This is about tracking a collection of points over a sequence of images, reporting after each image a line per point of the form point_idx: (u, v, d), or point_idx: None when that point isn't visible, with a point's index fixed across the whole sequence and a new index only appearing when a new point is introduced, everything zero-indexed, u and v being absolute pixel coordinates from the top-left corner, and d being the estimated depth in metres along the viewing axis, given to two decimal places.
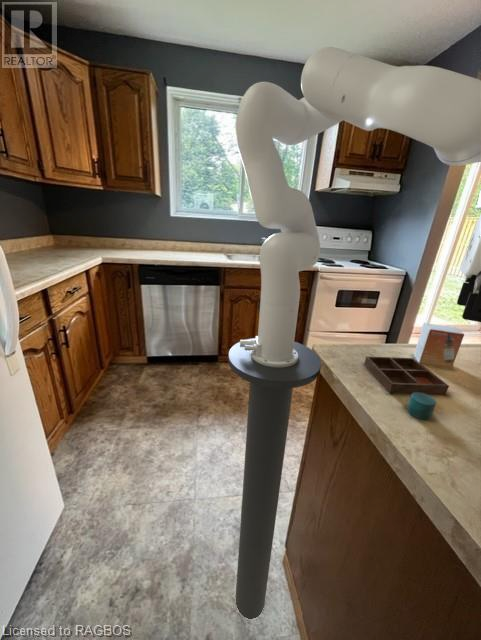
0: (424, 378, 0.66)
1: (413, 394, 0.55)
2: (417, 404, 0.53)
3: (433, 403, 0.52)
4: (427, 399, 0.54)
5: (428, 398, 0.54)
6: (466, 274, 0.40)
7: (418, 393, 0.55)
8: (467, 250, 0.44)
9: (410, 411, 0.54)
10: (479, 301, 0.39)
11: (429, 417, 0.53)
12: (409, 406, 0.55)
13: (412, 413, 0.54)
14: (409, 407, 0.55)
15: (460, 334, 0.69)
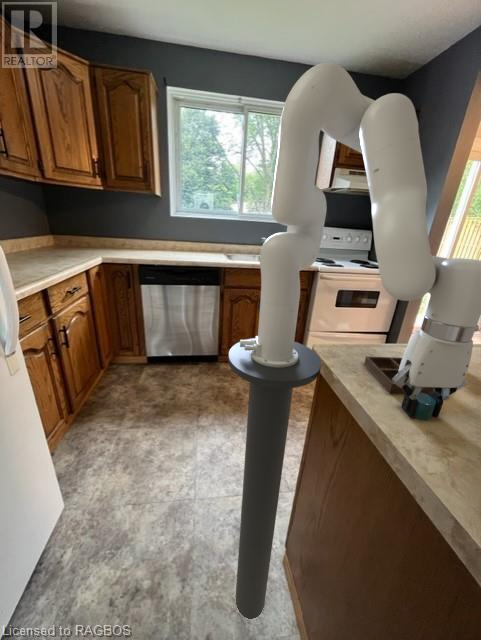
0: None
1: None
2: None
3: (433, 403, 0.52)
4: (427, 399, 0.54)
5: (428, 398, 0.54)
6: None
7: None
8: None
9: None
10: (404, 398, 0.54)
11: (429, 417, 0.53)
12: None
13: None
14: None
15: None
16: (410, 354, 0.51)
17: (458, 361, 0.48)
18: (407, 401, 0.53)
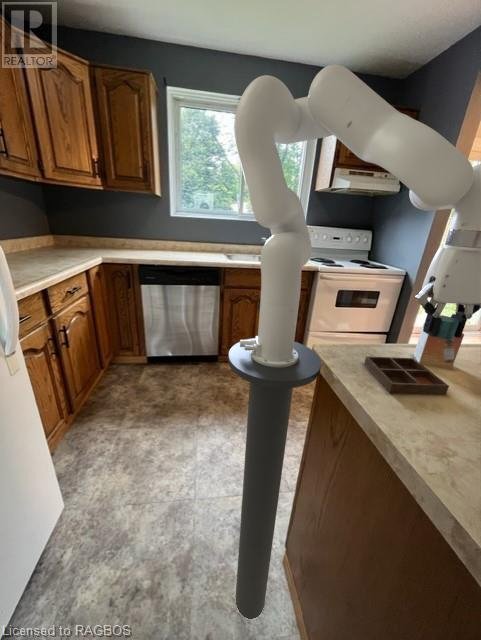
0: (424, 378, 0.66)
1: None
2: (440, 323, 0.53)
3: (456, 321, 0.52)
4: (449, 319, 0.54)
5: (451, 318, 0.54)
6: None
7: (440, 316, 0.55)
8: None
9: None
10: (427, 319, 0.54)
11: (452, 336, 0.53)
12: None
13: None
14: None
15: None
16: (434, 270, 0.51)
17: None
18: (430, 321, 0.54)
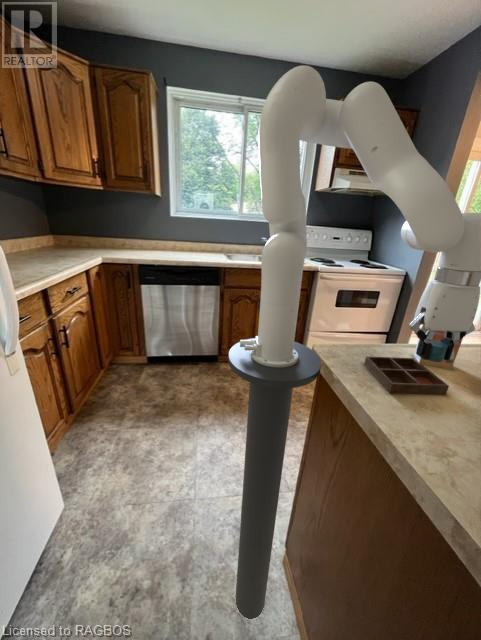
0: (424, 378, 0.66)
1: None
2: (431, 348, 0.60)
3: (445, 346, 0.59)
4: (439, 343, 0.60)
5: (440, 343, 0.60)
6: None
7: (431, 340, 0.62)
8: None
9: None
10: (419, 343, 0.61)
11: (442, 359, 0.60)
12: None
13: None
14: None
15: None
16: (425, 302, 0.57)
17: (467, 305, 0.55)
18: (422, 346, 0.60)
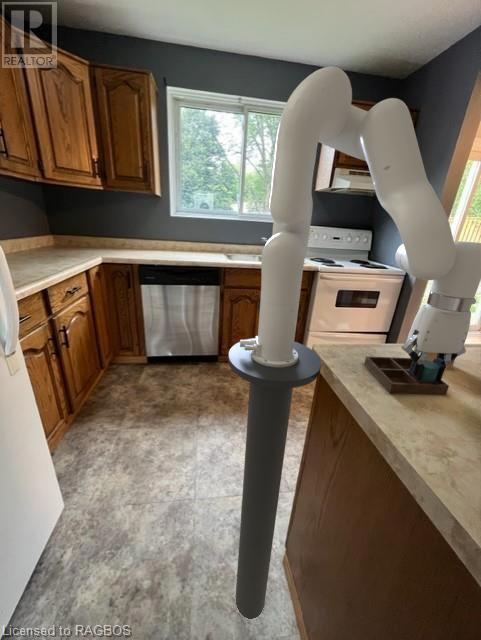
0: None
1: None
2: (423, 369, 0.61)
3: (437, 367, 0.61)
4: (431, 364, 0.62)
5: (433, 364, 0.62)
6: None
7: (424, 360, 0.64)
8: None
9: None
10: (412, 364, 0.63)
11: (433, 380, 0.62)
12: None
13: None
14: None
15: None
16: (417, 324, 0.59)
17: (458, 329, 0.57)
18: (414, 366, 0.62)
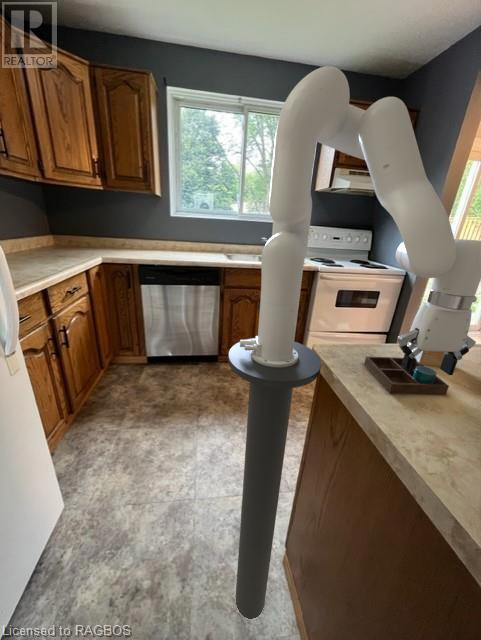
0: None
1: (417, 367, 0.64)
2: (421, 375, 0.62)
3: (434, 374, 0.62)
4: (429, 370, 0.63)
5: (430, 370, 0.63)
6: (409, 340, 0.63)
7: (421, 366, 0.64)
8: None
9: None
10: (404, 358, 0.62)
11: None
12: None
13: None
14: None
15: None
16: (418, 323, 0.59)
17: (459, 327, 0.57)
18: (406, 360, 0.61)
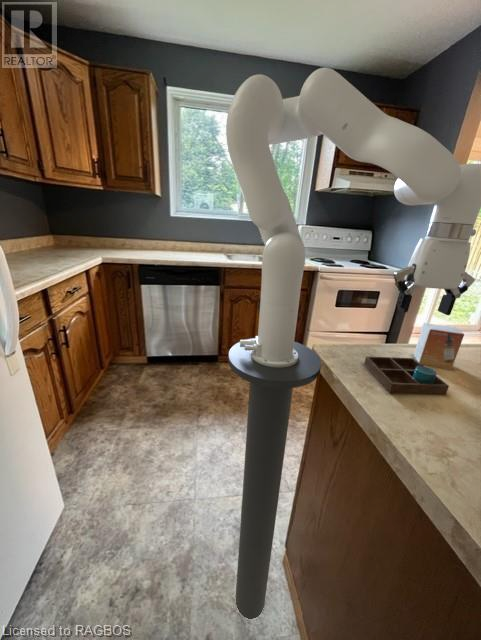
0: None
1: (417, 367, 0.64)
2: (421, 375, 0.62)
3: (434, 374, 0.62)
4: (429, 370, 0.63)
5: (430, 370, 0.63)
6: None
7: (421, 366, 0.64)
8: None
9: None
10: (400, 296, 0.61)
11: None
12: None
13: None
14: None
15: (460, 334, 0.69)
16: (415, 258, 0.58)
17: (457, 261, 0.55)
18: (402, 298, 0.60)
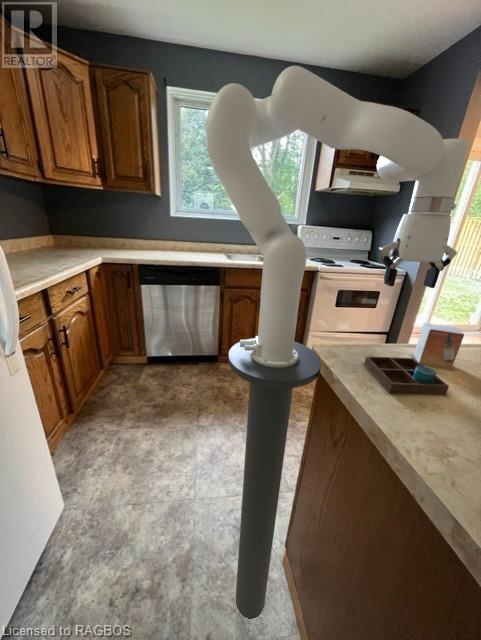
0: None
1: (417, 367, 0.64)
2: (421, 375, 0.62)
3: (434, 374, 0.62)
4: (429, 370, 0.63)
5: (430, 370, 0.63)
6: None
7: (421, 366, 0.64)
8: None
9: None
10: (386, 271, 0.63)
11: None
12: None
13: None
14: None
15: (460, 334, 0.69)
16: (399, 233, 0.60)
17: (439, 234, 0.58)
18: (388, 272, 0.63)
